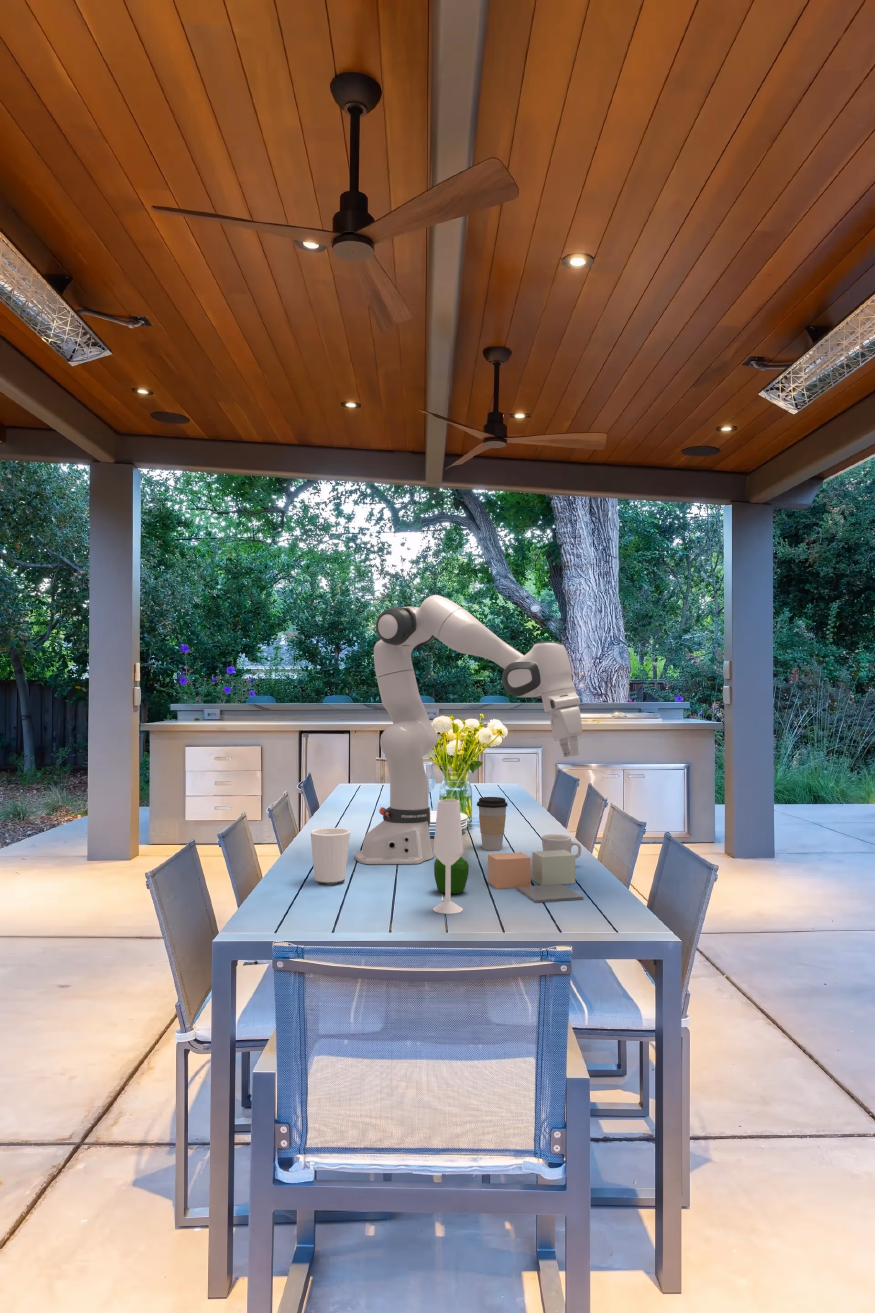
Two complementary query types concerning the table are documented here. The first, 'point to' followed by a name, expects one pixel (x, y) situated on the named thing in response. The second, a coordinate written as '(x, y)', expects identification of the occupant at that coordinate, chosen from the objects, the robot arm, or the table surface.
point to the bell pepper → (452, 875)
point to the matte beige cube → (553, 867)
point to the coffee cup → (492, 821)
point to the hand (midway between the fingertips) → (571, 756)
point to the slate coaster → (549, 893)
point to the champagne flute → (448, 847)
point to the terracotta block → (509, 870)
